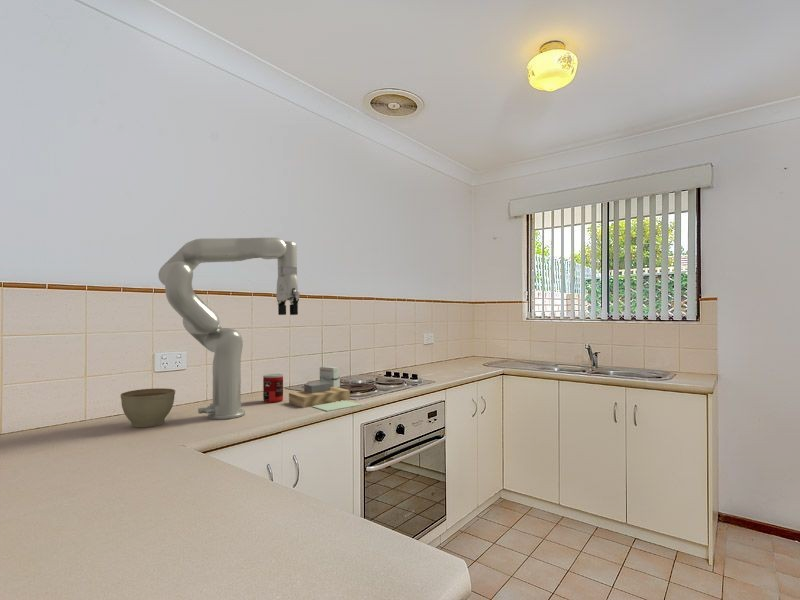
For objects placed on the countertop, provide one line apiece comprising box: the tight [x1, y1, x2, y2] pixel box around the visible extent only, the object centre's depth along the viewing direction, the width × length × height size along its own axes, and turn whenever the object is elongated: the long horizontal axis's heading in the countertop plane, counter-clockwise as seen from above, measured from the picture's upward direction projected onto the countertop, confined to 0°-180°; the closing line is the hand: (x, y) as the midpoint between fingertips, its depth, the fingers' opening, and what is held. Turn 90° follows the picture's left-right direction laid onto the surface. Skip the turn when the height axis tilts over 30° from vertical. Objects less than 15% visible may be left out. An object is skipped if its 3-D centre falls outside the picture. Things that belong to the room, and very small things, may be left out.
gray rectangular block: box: [303, 381, 330, 393], centre depth 187 cm, size 9×6×3 cm, turn 132°
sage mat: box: [311, 400, 362, 412], centre depth 176 cm, size 16×11×1 cm
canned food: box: [262, 373, 284, 404], centre depth 187 cm, size 8×8×11 cm
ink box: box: [319, 366, 341, 388], centre depth 205 cm, size 9×5×12 cm, turn 58°
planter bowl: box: [120, 387, 176, 428], centre depth 150 cm, size 16×16×11 cm
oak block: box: [288, 387, 351, 408], centre depth 186 cm, size 22×12×4 cm, turn 132°
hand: (288, 314), depth 179 cm, fingers open, 9 cm apart
